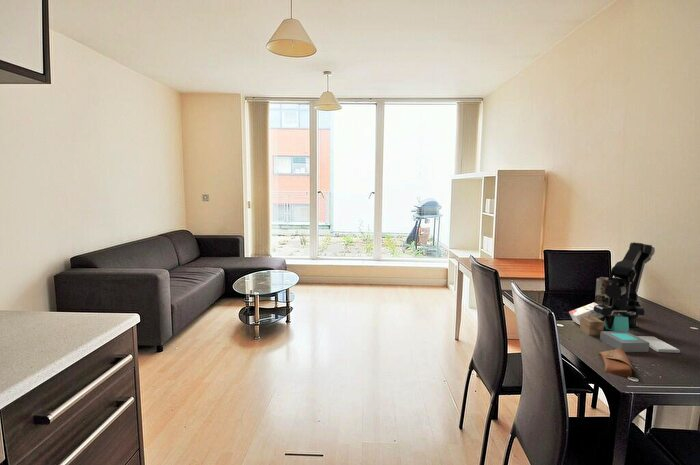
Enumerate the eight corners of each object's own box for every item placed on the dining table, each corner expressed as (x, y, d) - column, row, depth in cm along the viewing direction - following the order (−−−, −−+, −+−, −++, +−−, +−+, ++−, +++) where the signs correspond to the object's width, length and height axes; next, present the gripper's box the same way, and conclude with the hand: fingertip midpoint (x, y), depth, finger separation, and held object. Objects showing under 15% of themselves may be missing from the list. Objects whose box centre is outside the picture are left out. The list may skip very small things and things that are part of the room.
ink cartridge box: (568, 311, 171) (600, 299, 168) (572, 321, 170) (604, 309, 168) (575, 315, 162) (609, 303, 160) (580, 325, 162) (614, 313, 159)
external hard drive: (657, 353, 139) (633, 339, 151) (679, 353, 139) (654, 340, 151) (658, 349, 139) (634, 335, 151) (680, 349, 139) (654, 336, 151)
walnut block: (592, 329, 160) (594, 316, 159) (602, 335, 154) (604, 321, 153) (579, 329, 160) (580, 316, 159) (588, 335, 154) (590, 321, 153)
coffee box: (618, 310, 186) (622, 280, 184) (613, 313, 182) (617, 281, 180) (598, 305, 193) (602, 276, 191) (593, 308, 189) (596, 277, 187)
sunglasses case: (596, 351, 138) (608, 338, 136) (614, 363, 136) (627, 351, 134) (604, 372, 122) (619, 358, 120) (625, 387, 120) (640, 373, 118)
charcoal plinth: (625, 340, 150) (626, 331, 149) (648, 352, 139) (649, 342, 138) (599, 340, 149) (600, 331, 149) (620, 352, 138) (621, 342, 138)
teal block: (619, 329, 161) (618, 315, 161) (629, 331, 155) (628, 317, 155) (605, 328, 161) (604, 315, 162) (614, 331, 155) (613, 316, 156)
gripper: (627, 289, 164) (623, 322, 166) (586, 288, 164) (583, 322, 166) (647, 296, 153) (643, 331, 155) (604, 296, 153) (600, 331, 155)
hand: (616, 328), depth 158 cm, fingers closed on teal block, 6 cm apart
